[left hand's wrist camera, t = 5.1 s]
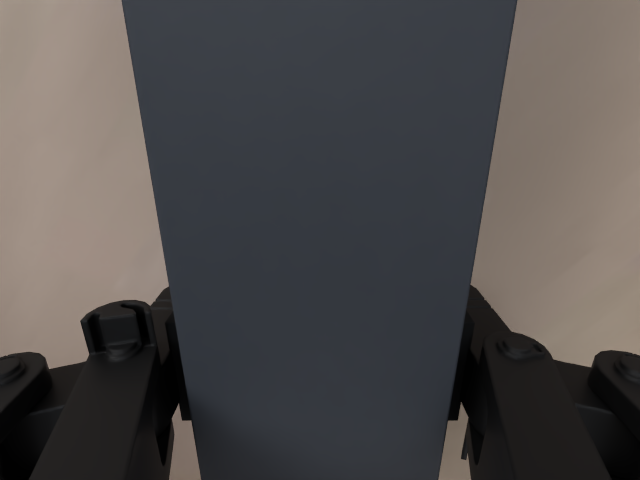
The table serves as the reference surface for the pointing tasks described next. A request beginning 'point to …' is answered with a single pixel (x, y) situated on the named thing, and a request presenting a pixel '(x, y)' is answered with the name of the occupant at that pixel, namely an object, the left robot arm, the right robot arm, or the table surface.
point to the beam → (319, 219)
